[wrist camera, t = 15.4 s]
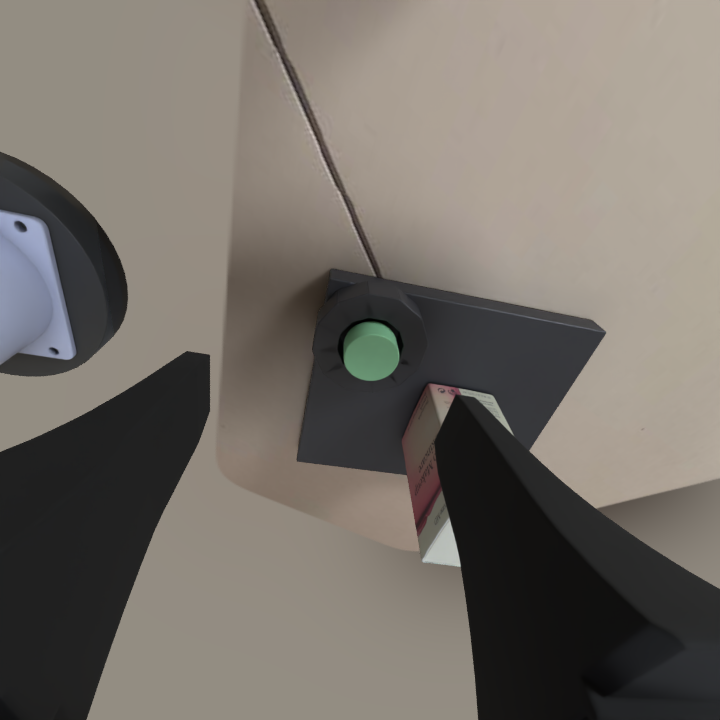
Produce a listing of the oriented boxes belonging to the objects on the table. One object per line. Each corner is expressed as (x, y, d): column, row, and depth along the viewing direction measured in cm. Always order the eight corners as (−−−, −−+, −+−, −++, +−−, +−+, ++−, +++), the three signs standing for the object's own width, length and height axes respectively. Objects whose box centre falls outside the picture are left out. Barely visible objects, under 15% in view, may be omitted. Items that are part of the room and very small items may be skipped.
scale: (294, 445, 26) (289, 481, 23) (326, 262, 19) (323, 284, 16) (498, 472, 28) (513, 507, 25) (595, 316, 21) (629, 343, 18)
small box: (426, 379, 21) (462, 498, 15) (494, 393, 22) (558, 513, 15) (398, 441, 24) (418, 565, 17) (460, 452, 25) (502, 575, 18)
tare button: (339, 361, 19) (338, 376, 18) (349, 315, 18) (349, 330, 16) (388, 369, 19) (391, 385, 18) (402, 325, 18) (406, 340, 17)
